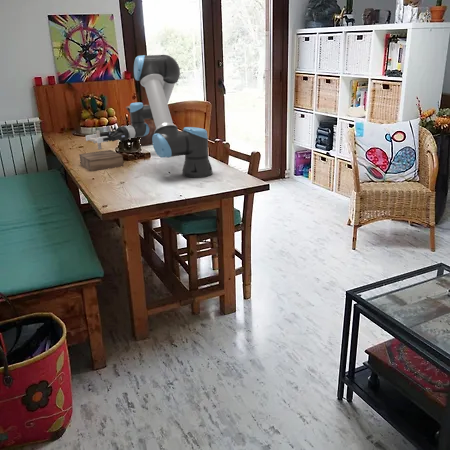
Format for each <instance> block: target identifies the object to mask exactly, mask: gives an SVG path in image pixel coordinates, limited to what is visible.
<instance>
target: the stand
mask: <svg viewBox="0 0 450 450" xmlns="http://www.w3.org/2000/svg"><path fill="white" fill-rule="evenodd" d="M79 162H80V166H81V167H83V168H85V169H87V170H88V171H89V172H95V171H102V170H108V168H109V169H115V167H116V168H121V166H122V167H124V158H123V154H120V153H118V152H116V151H114V150H111V149H106V150H100V151H93V152H87V153H80V154H79Z"/></svg>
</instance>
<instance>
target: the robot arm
mask: <svg viewBox="0 0 450 450" xmlns="http://www.w3.org/2000/svg"><path fill="white" fill-rule="evenodd" d="M180 70H181V69H180V66H179V63H178V62H177V60H175V58H173V57H172V56H170V55H168V54H152V55H150V54H148V55H147V54H146V55H145V54H143V55H137V56H136V57H135V59H134V63H133V77H134V79H135V81H139V83H140V85H141V87H144V89H145V93H146V97H147V99H148V104H145V105H146V106H143V105H144V103H143V102H138V101H137V102H131V103H130V104H129V105H130V114H131V124H132V125H128V126H127V125H124V126H118V127H117V128H116V130H112V131H111V130H108V131H103V132H100V137H99V138H97V135H96V132H94V133H93V134H88V135H85V142H88V141H89V142H90V138H97V143H96V144H98V143H101V144H102V143H105V142H106V143H107V141H108V142H116V141H121V142H122V141H126V140H127V141H128V139H129V140H131V138H137V137H143V136H146V135H148V133H149V127H148V125H147V124H146V123H145V122H144V119H154V123H155V126H156V130H155V131H154V135H153V137H152V142H153V143H152V147H153V149H154V152H155V154H156V155H157V156H158V157H160V158H172V157H173V158H174V157H181V156H184V163H183V167H182V171H181V172H182V176H184V177H186V178H193V179H194V178H196V179H198V178H205V177H208V176H209V177H210V176H211V175H213V168H212V165H211V162H210V159H209V137H208V131H207V130H206V129H205V128H201V127H194V126H185V127H183V129H182V130H181V131H179V127H178V126H177V125H175V124H174V121H173V119H172V115H171V113H170V108H169V105H168V104H169V101H170V98H171V97H172V96H171V95H172V93H173V90H174V87H175V84H177V83H178V81H179V79H180V76H181V71H180Z"/></svg>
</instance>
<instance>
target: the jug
mask: <svg viewBox="0 0 450 450" xmlns="http://www.w3.org/2000/svg"><path fill="white" fill-rule="evenodd" d="M146 105H147V104H143V106H146ZM125 109H126V110H127V112H128V113H129V121H128V123H129V125H132V124H131V114H130V104H129V105H126V106H125ZM144 122H145V123H146V124H147V125H148V127H149V133H148V135H146V136H143V137H141V139H140V144H141V147H143V146H148V145H149V146H150V145H153V142H152V137H153V135H154V131H155V130H156V126H155V123H154V119H153V118H151V119H144Z"/></svg>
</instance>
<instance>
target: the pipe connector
mask: <svg viewBox="0 0 450 450" xmlns="http://www.w3.org/2000/svg"><path fill="white" fill-rule="evenodd" d="M100 131H101V130H95V133H96V135H97V138H99V137H100ZM97 138H90V140H89V142H92V143H93V144H97V149H98V150H102V149H103V148H102V143H97ZM107 142H109V140H108V141H107ZM107 142H106V143H107Z"/></svg>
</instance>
